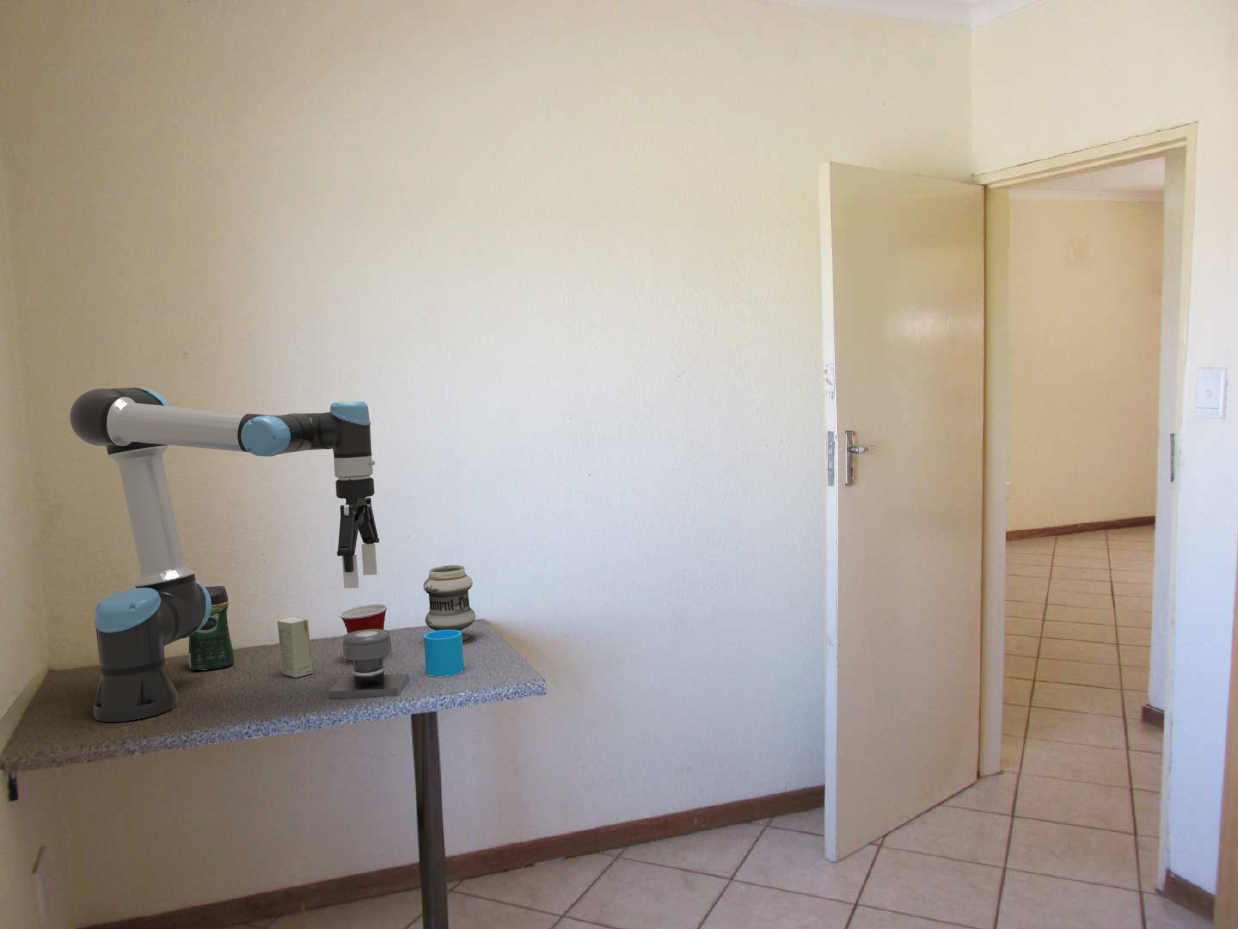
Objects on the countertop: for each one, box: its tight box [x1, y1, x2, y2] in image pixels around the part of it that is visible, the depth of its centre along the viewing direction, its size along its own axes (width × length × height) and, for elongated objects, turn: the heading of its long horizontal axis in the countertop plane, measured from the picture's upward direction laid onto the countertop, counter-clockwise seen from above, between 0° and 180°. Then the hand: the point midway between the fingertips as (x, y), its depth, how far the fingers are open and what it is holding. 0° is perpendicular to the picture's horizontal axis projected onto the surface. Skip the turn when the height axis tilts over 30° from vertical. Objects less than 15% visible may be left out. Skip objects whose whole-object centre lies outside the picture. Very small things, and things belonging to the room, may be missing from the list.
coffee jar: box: [188, 585, 235, 671], centre depth 224 cm, size 10×8×19 cm
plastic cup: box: [339, 603, 388, 634], centre depth 224 cm, size 11×11×12 cm
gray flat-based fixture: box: [327, 656, 410, 699], centre depth 201 cm, size 14×10×10 cm
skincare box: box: [277, 616, 314, 678], centre depth 215 cm, size 6×4×12 cm
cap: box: [342, 629, 392, 661], centre depth 200 cm, size 9×9×4 cm
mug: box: [423, 630, 465, 677], centre depth 213 cm, size 12×8×8 cm
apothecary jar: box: [422, 564, 477, 645], centre depth 237 cm, size 12×12×18 cm
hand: (361, 581), depth 199 cm, fingers open, 13 cm apart
